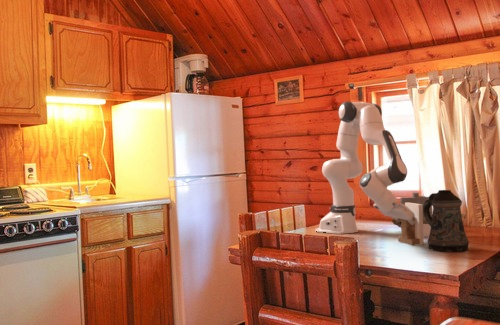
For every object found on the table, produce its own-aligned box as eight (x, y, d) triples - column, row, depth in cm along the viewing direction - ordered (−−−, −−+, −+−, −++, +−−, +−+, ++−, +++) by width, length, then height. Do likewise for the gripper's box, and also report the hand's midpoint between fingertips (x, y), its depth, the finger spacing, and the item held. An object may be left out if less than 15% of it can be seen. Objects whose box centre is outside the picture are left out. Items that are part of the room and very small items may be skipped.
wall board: (398, 241, 233) (397, 203, 233) (409, 240, 235) (408, 202, 235) (412, 245, 223) (411, 205, 223) (423, 244, 225) (422, 204, 225)
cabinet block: (406, 238, 226) (406, 214, 226) (400, 237, 230) (400, 213, 230) (414, 238, 227) (414, 214, 227) (408, 236, 232) (408, 213, 231)
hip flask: (401, 231, 263) (400, 193, 262) (400, 229, 267) (399, 192, 266) (433, 230, 261) (432, 192, 260) (431, 229, 265) (430, 191, 264)
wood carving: (468, 237, 239) (467, 214, 239) (392, 236, 248) (391, 214, 247) (465, 234, 248) (464, 211, 247) (392, 233, 256) (391, 211, 256)
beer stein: (465, 254, 202) (464, 192, 202) (416, 250, 212) (415, 191, 212) (471, 246, 216) (470, 189, 216) (425, 243, 226) (424, 188, 226)
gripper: (405, 199, 216) (425, 219, 219) (379, 195, 235) (397, 214, 239) (396, 210, 215) (416, 230, 218) (371, 205, 234) (389, 224, 237)
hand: (406, 222), depth 228 cm, fingers open, 8 cm apart
